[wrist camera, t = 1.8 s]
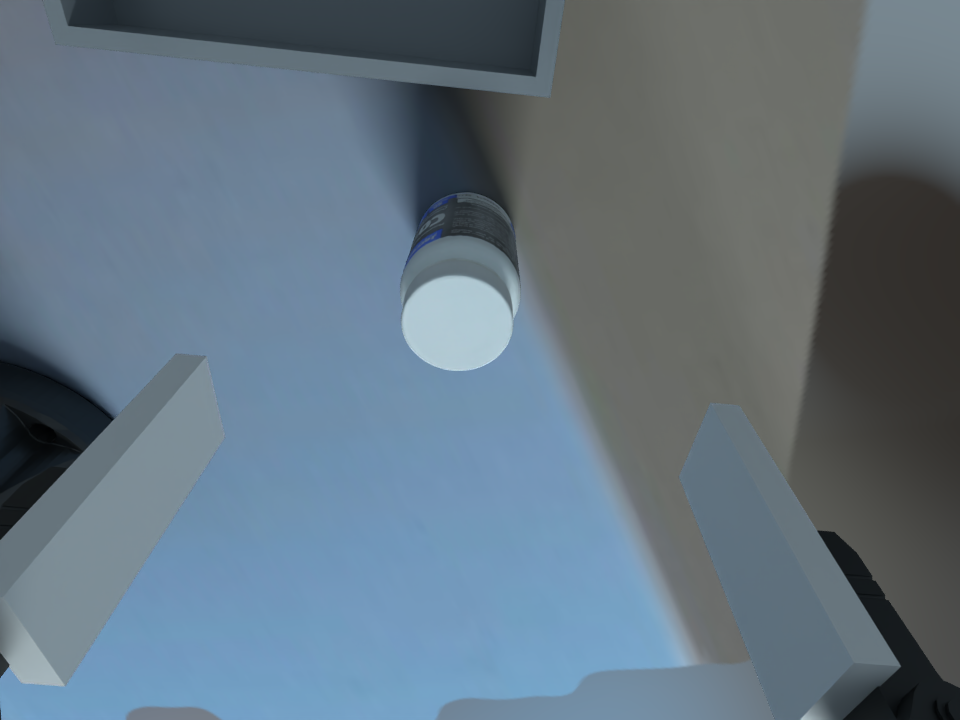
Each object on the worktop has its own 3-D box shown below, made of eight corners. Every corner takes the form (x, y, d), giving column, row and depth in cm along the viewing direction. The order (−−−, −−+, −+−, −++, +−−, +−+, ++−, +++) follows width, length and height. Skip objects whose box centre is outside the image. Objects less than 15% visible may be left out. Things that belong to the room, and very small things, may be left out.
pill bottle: (432, 175, 24) (408, 243, 17) (529, 209, 25) (545, 287, 18) (406, 268, 26) (376, 360, 19) (495, 296, 27) (497, 394, 20)
